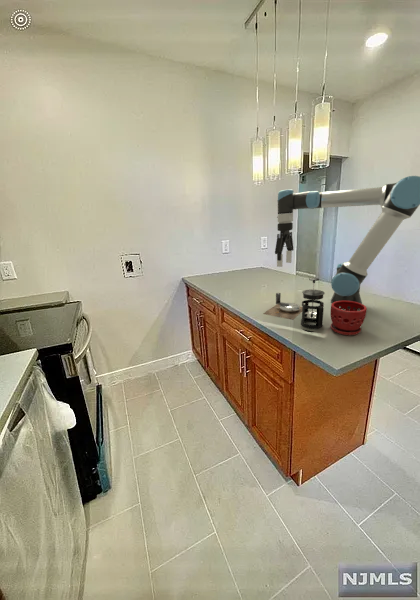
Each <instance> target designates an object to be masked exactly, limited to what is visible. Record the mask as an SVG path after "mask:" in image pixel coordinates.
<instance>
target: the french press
mask: <svg viewBox="0 0 420 600" xmlns="http://www.w3.org/2000/svg"><path fill="white" fill-rule="evenodd" d="M308 280H309V281H312V285H313V286H312V289H305V290H302V292H301V293H302V297H303V299H305V300H301V301H302V302H301V307H302V312H301V320H300V325H301V327H303V328H305V329H303V328H301V329H302V331H304V332H308V333H315V331H314V330H318V329H321V328H323V323H324V322H323V320H324V311H325V310H324V309H325V308H324V305H325V304H324V302H323V301H322V300H323V298H324V295H325V294H326V293H325V292H324V291H323V290H319V289H315V283H316V282H317V281H319V280H320V279H319V278H317V277H311V278H308ZM310 303H311V305H309V304H310ZM314 303H315V304H319V305H315V306H314ZM309 310H311V311H309ZM314 310H316V311H314ZM305 322H314V323H315V324H308V323H305ZM308 329H309V330H308ZM312 330H313V331H312Z"/></svg>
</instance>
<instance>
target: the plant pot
mask: <svg viewBox="0 0 420 600" xmlns="http://www.w3.org/2000/svg"><path fill="white" fill-rule="evenodd" d="M340 306H341V307H340ZM348 306H350V307H351V308H350V309H348V308H347V307H348ZM354 308H356V309H355V310H354ZM358 308H359V309H358ZM344 309H345V310H344ZM367 309H368V307H367V306H366V305H364V303H362V304H361V303H358V302H354V301H336V302H333V303H330V320H331V323H330V328H331V330H332V331H333V332H335V333H337V334H340V335H343V336H355V335H358V334H360V332H361V330H362V328H361V327H362V325H363V324H364V322H365V319H366V316H367Z"/></svg>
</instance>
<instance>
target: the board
mask: <svg viewBox="0 0 420 600" xmlns="http://www.w3.org/2000/svg"><path fill="white" fill-rule="evenodd" d="M301 314H302V306H300V310H299V311H298V312H295V313H287V312H283V311H281V310H280V305H278V304H276V303H275V305H273V306H272V307H270V308H269V309H267V310H266V311H264V312H263V315H267V316H272V317H276V318H280V319H281V318H282V319H288V320H292V321H294V319H295V318H297V317H298V316H299V315H301Z"/></svg>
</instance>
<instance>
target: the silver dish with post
mask: <svg viewBox="0 0 420 600" xmlns="http://www.w3.org/2000/svg"><path fill="white" fill-rule="evenodd" d="M281 297H282V296H281V292H276V293H275V305H276V304H278V305H280V310H281V311H283V312H287V313H295V312H298V311H299V310H300V307H301V306H300V305H299V304H298V303H294V302H282V301H281Z"/></svg>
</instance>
